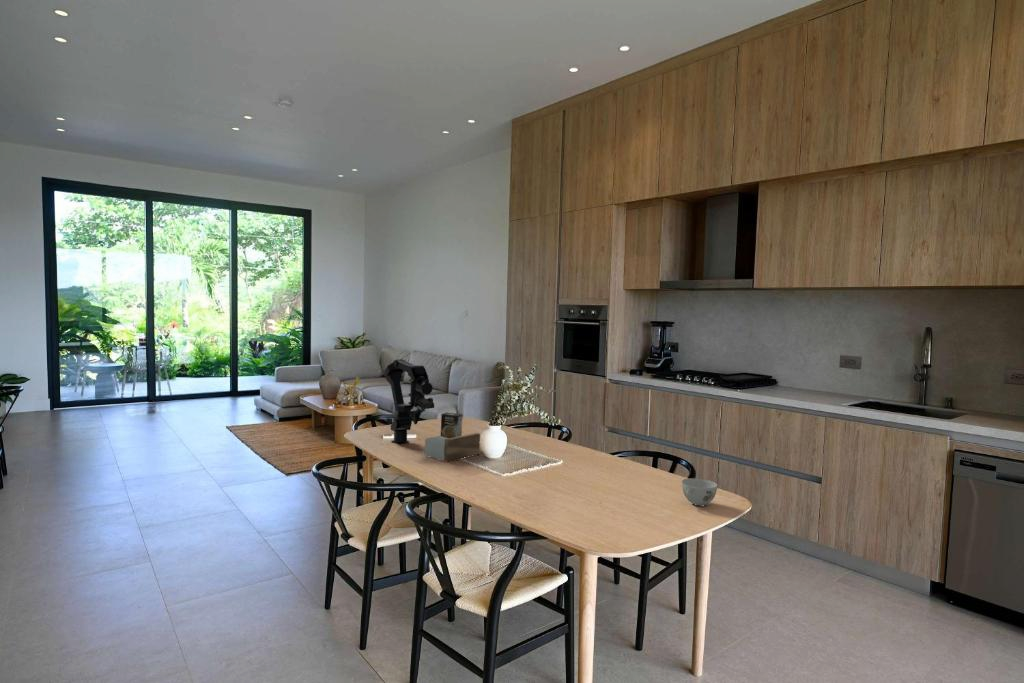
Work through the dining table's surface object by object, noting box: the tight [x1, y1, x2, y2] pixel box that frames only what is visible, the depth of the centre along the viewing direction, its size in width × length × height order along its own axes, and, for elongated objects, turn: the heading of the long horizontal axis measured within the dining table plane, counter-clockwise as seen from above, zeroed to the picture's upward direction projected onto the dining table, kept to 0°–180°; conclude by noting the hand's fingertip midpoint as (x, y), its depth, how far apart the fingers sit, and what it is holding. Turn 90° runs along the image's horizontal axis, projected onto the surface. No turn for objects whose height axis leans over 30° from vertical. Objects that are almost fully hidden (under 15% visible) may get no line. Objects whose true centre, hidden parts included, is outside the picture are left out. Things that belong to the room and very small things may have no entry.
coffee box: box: [440, 411, 464, 438], centre depth 278 cm, size 9×6×16 cm
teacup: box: [681, 477, 718, 506], centre depth 205 cm, size 15×12×8 cm
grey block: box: [424, 435, 448, 462], centre depth 257 cm, size 13×9×8 cm
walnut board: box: [443, 432, 481, 463], centre depth 256 cm, size 2×20×10 cm, turn 139°
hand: (415, 424), depth 269 cm, fingers closed
